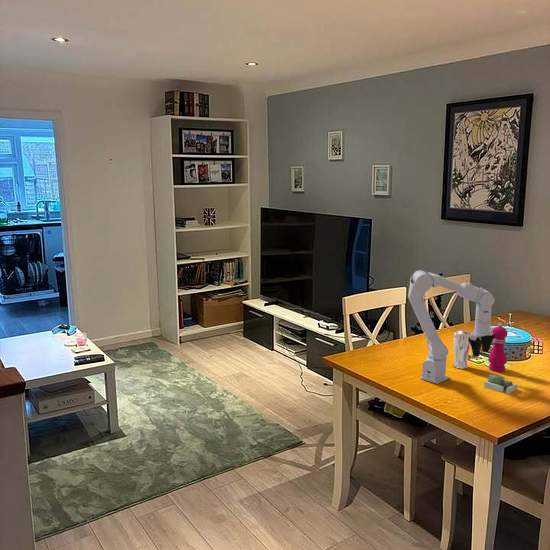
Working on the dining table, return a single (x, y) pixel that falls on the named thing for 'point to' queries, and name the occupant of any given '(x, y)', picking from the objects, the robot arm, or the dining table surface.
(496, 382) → the bottle
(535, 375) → the dining table surface
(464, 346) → the pale grey carved column
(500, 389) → the rest
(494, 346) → the pepper mill
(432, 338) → the robot arm
